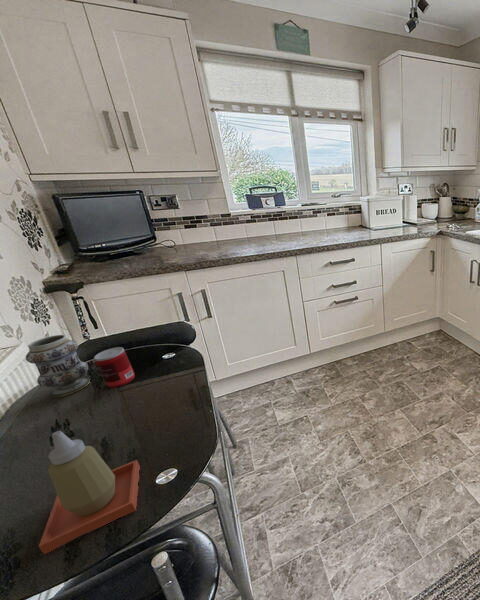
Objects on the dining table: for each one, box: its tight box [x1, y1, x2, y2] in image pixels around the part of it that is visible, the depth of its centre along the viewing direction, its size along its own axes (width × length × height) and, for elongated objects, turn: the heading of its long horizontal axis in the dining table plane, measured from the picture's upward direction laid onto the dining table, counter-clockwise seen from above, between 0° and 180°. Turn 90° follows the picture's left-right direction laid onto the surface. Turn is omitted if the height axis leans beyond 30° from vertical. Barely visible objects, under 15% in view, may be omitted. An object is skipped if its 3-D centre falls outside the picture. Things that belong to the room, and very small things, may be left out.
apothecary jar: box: [25, 334, 91, 398], centre depth 106 cm, size 12×12×18 cm
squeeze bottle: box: [47, 430, 115, 516], centre depth 63 cm, size 8×8×18 cm
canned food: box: [93, 346, 136, 389], centre depth 108 cm, size 8×8×11 cm
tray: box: [38, 459, 141, 555], centre depth 66 cm, size 13×13×2 cm
